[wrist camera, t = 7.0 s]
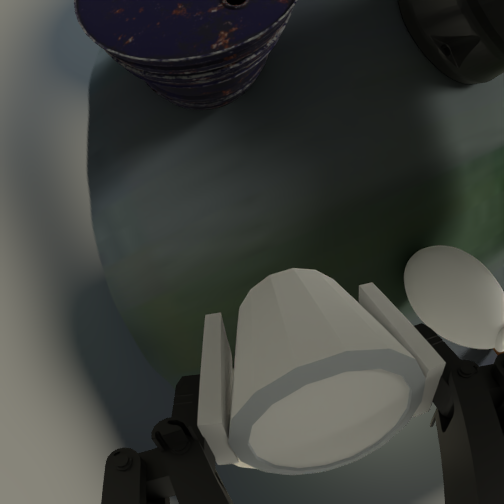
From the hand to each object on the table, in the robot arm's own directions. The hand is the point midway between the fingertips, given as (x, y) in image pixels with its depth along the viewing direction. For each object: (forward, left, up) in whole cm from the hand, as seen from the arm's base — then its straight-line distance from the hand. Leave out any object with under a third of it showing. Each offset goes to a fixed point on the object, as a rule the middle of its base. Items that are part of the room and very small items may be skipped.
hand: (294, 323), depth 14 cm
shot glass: (0, 0, -1) cm, 1 cm away
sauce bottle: (+6, +17, -14) cm, 23 cm away
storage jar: (-17, -2, -14) cm, 22 cm away
